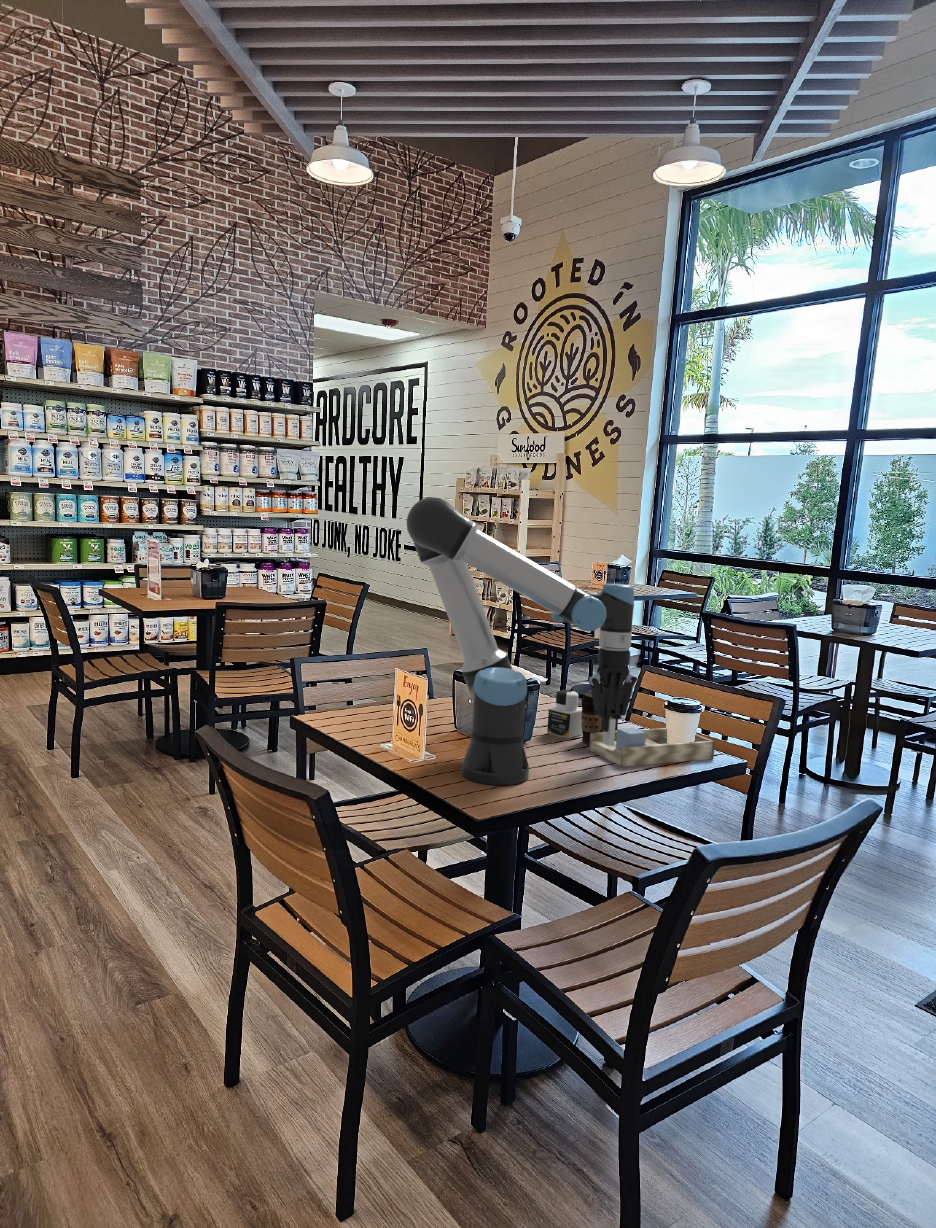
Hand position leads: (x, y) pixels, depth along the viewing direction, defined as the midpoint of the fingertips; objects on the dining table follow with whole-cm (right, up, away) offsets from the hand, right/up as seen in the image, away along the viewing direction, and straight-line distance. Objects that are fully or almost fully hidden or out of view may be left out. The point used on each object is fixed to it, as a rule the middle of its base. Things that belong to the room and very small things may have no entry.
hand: (608, 744), depth 193 cm
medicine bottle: (-7, -2, +26) cm, 27 cm away
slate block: (+6, -2, +3) cm, 7 cm away
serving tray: (+13, -4, +10) cm, 17 cm away
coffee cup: (-1, -3, +18) cm, 18 cm away
